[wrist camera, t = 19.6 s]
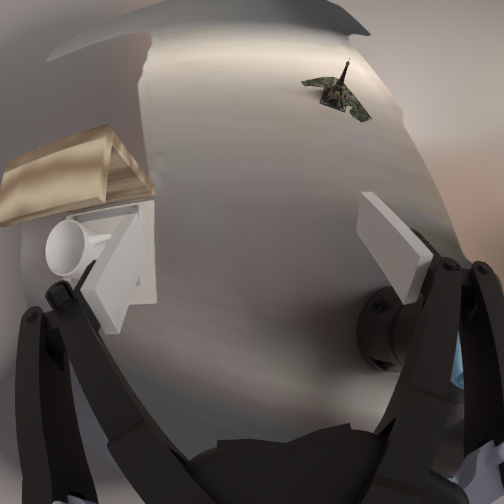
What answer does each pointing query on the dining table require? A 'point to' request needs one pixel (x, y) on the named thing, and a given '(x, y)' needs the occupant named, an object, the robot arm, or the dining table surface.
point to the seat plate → (108, 223)
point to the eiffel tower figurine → (339, 95)
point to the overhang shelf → (71, 177)
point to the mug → (73, 248)
